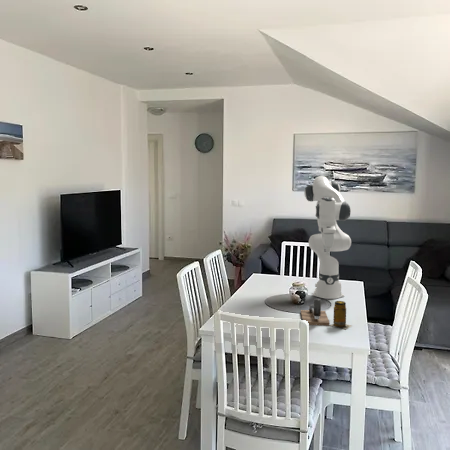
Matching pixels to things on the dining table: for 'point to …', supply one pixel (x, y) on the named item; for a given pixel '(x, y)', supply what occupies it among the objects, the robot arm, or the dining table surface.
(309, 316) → the board
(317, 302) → the lever
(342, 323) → the condiment
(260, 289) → the dining table surface
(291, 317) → the dining table surface
